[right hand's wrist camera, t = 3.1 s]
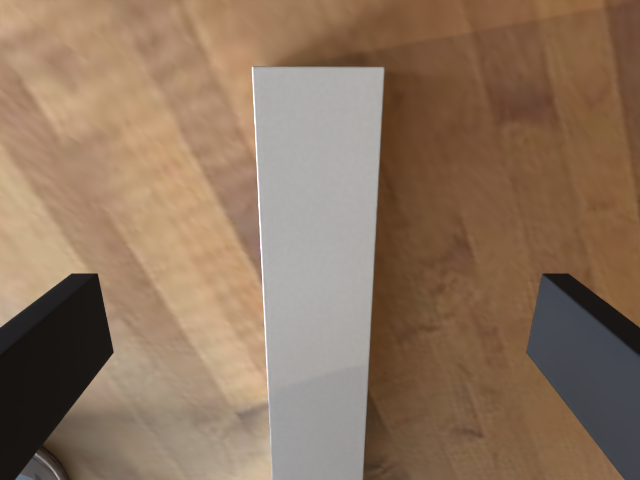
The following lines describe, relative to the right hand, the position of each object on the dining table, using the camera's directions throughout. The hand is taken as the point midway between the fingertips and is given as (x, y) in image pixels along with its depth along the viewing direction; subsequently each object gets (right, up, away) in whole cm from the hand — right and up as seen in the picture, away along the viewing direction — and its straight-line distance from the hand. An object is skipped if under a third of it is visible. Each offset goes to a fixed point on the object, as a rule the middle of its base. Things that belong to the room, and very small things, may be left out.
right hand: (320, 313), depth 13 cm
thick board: (0, -19, +34) cm, 39 cm away
